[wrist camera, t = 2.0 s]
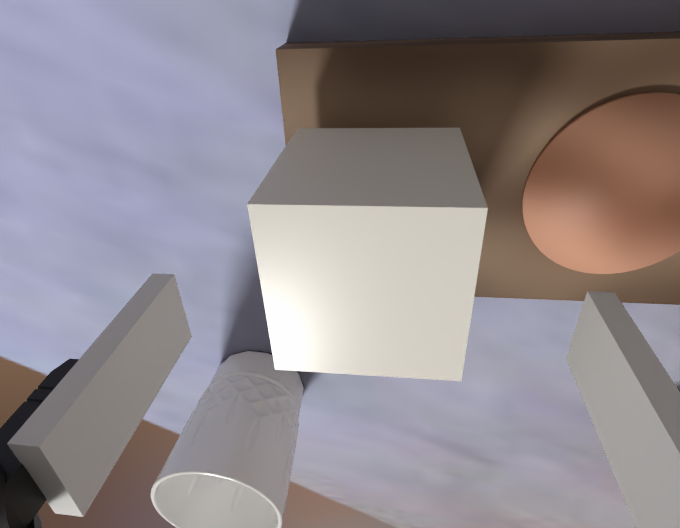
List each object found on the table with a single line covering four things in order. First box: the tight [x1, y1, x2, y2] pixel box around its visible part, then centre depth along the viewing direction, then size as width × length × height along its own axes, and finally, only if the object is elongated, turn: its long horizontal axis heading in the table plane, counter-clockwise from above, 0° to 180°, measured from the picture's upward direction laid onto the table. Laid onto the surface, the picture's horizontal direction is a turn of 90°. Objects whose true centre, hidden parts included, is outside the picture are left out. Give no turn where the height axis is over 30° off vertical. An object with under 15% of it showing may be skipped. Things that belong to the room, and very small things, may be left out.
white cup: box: [151, 351, 304, 528], centre depth 31 cm, size 8×8×10 cm
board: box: [276, 32, 680, 305], centre depth 19 cm, size 13×21×10 cm, turn 92°
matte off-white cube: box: [247, 128, 488, 381], centre depth 18 cm, size 7×7×8 cm
